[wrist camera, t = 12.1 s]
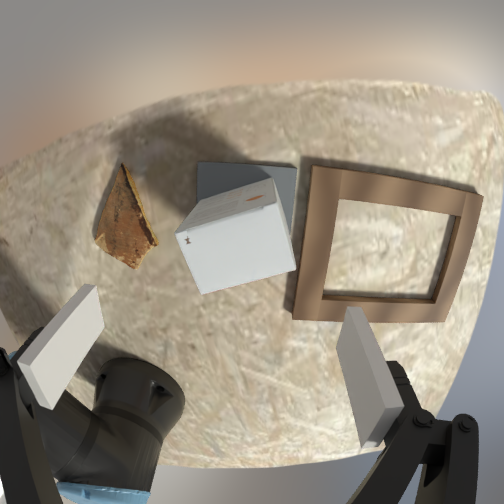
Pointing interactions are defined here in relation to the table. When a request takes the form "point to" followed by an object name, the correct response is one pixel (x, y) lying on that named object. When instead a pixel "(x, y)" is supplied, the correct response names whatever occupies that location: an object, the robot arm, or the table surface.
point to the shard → (125, 223)
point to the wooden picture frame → (389, 193)
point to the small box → (237, 238)
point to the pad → (246, 181)
